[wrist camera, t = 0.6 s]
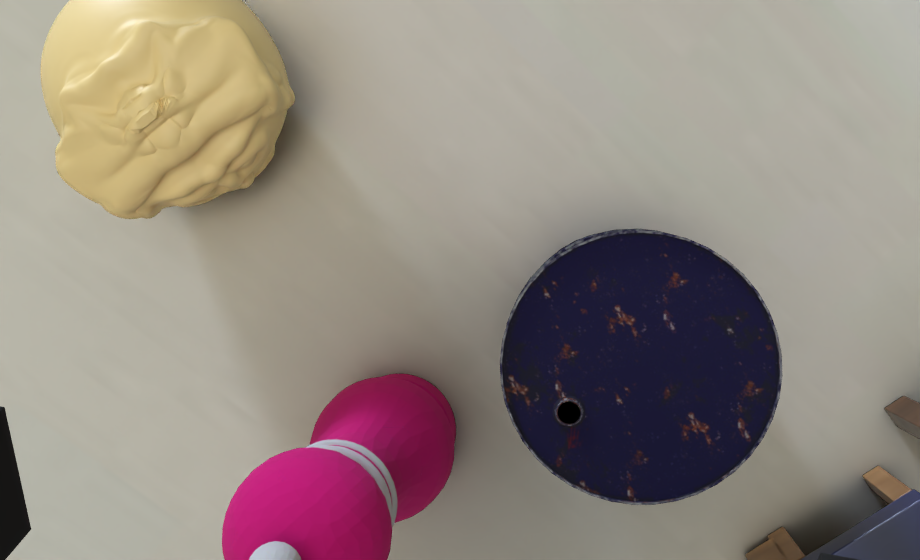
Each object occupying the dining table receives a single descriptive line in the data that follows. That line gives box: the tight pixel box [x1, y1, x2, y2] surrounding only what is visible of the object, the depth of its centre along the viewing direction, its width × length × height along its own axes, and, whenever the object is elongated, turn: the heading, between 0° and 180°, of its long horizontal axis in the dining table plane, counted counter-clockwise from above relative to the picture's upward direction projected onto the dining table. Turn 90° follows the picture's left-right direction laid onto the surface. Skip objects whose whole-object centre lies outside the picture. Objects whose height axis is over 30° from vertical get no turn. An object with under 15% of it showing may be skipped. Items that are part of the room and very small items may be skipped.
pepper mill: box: [222, 374, 456, 560], centre depth 34 cm, size 7×7×20 cm
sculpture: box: [41, 0, 295, 219], centre depth 39 cm, size 12×12×11 cm
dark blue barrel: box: [500, 229, 782, 505], centre depth 34 cm, size 10×10×15 cm
